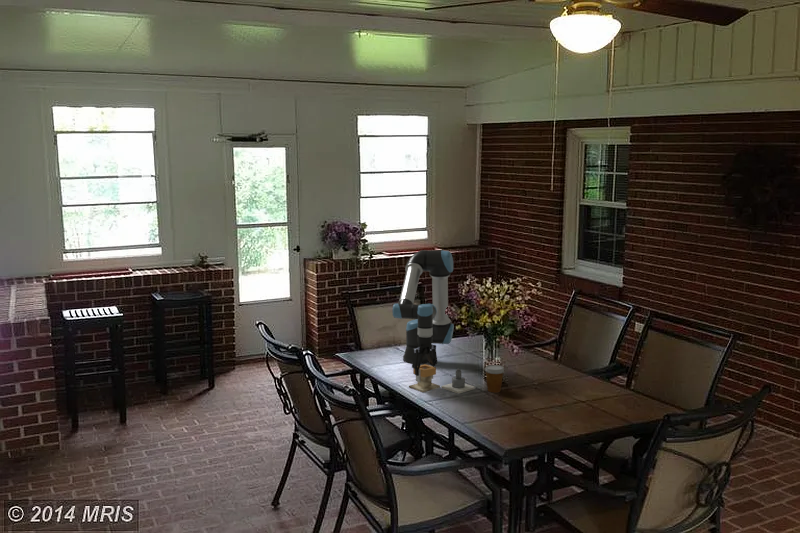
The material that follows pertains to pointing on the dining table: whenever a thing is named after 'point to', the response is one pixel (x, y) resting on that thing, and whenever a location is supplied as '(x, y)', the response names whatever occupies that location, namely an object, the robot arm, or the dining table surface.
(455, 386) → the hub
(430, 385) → the stand
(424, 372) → the ring
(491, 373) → the disposable coffee cup
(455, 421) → the dining table surface
